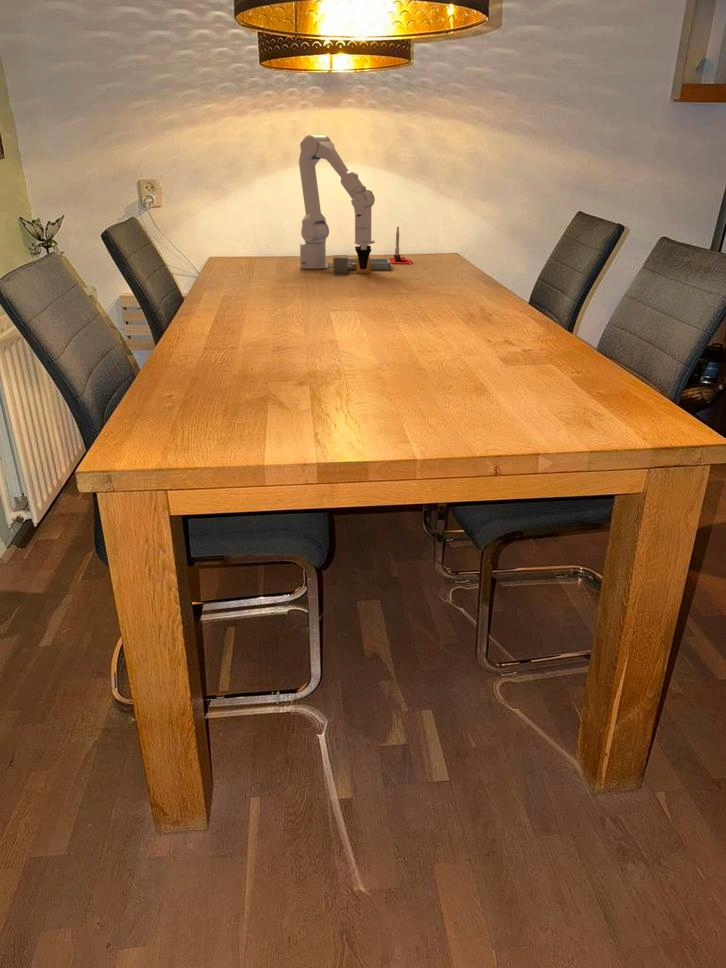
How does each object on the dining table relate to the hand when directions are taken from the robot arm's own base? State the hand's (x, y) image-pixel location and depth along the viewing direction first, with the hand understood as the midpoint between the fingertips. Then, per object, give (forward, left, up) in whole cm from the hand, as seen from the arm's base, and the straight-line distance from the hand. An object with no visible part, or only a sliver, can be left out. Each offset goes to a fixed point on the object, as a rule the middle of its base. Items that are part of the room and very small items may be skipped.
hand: (363, 268), depth 263 cm
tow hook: (+15, +21, -2) cm, 26 cm away
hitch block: (-8, 0, -1) cm, 8 cm away
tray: (0, +10, -1) cm, 10 cm away
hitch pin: (-5, 0, -1) cm, 5 cm away
